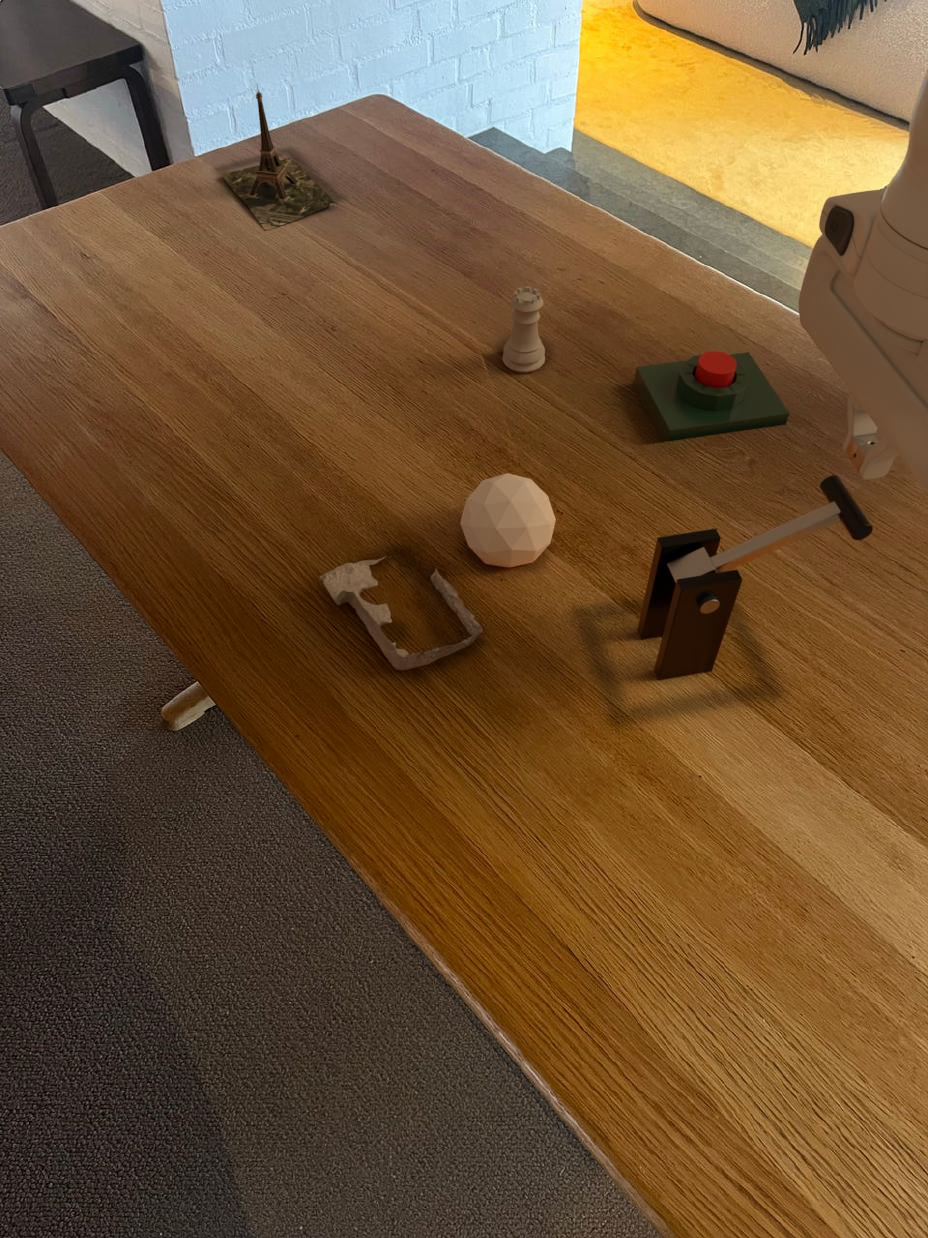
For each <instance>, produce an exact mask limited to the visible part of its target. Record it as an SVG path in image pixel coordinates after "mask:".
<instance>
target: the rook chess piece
mask: <svg viewBox="0 0 928 1238" xmlns="http://www.w3.org/2000/svg"><path fill="white" fill-rule="evenodd" d="M509 303H510V306H511V307H512V309H513V310H514V311H513V312H512V314H511V318H512V320H513V326H512V330H511V333H510V337H508V339H507V341H506V342H505V343H504V346H503V350H502V352H503V354H502V358H501V360H502V362H503V364H504V365H505V367H506V368H508V369H509V370H511V371H513V372H515V373H519V374H529V373H534V372H535V371H538V370H539V369H540V368H541V367H542V365H544V364H545V361H546V356H545V353H546V349H545V346H544V344H543V341H542V339H541V337H540V335H539V326H538V325H539V324H538V321H539V320H540V319H541V313H540V312H539V310H540V309H541V308H542V307H543V306H544V300H543V299H542V297H541V293H540V291H539V289H538V288H536V287H535V288H533V291H532V286H527V285H526V286H525V290H523V287H518V288H517V289H516V291H515V290H514V295H513V296H512V298H511V299H510V302H509Z"/></svg>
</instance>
